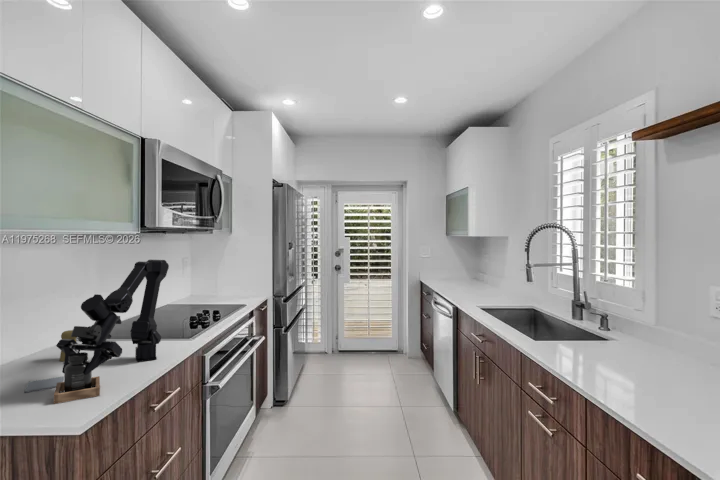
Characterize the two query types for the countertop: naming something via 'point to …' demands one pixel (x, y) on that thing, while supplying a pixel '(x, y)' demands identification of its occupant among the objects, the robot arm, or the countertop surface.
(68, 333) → the cork
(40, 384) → the slate mat
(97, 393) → the walnut holder
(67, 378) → the supplement bottle
